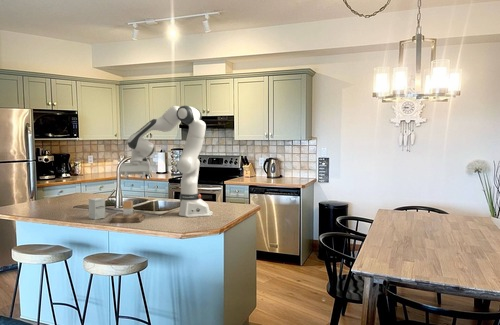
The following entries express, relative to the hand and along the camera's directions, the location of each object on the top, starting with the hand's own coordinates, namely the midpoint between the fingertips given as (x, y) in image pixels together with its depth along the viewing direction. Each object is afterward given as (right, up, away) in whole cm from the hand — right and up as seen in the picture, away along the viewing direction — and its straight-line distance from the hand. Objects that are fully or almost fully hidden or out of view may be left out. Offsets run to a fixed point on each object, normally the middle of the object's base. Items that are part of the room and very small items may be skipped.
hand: (134, 178), depth 246 cm
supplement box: (-21, -25, -7) cm, 34 cm away
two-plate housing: (0, -22, -13) cm, 26 cm away
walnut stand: (0, -25, -12) cm, 28 cm away
